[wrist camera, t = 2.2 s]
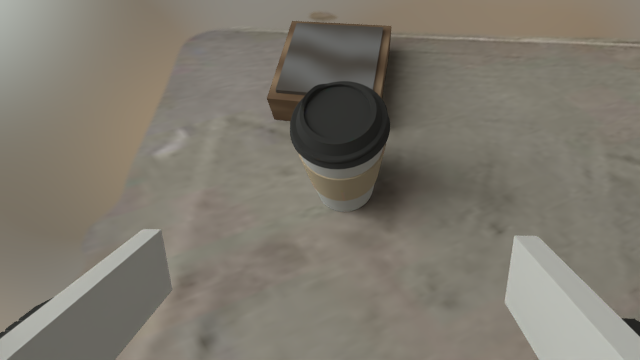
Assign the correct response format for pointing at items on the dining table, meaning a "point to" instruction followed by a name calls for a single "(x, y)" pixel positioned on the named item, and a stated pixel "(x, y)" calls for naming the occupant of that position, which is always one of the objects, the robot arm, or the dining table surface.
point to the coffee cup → (341, 141)
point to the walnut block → (327, 61)
